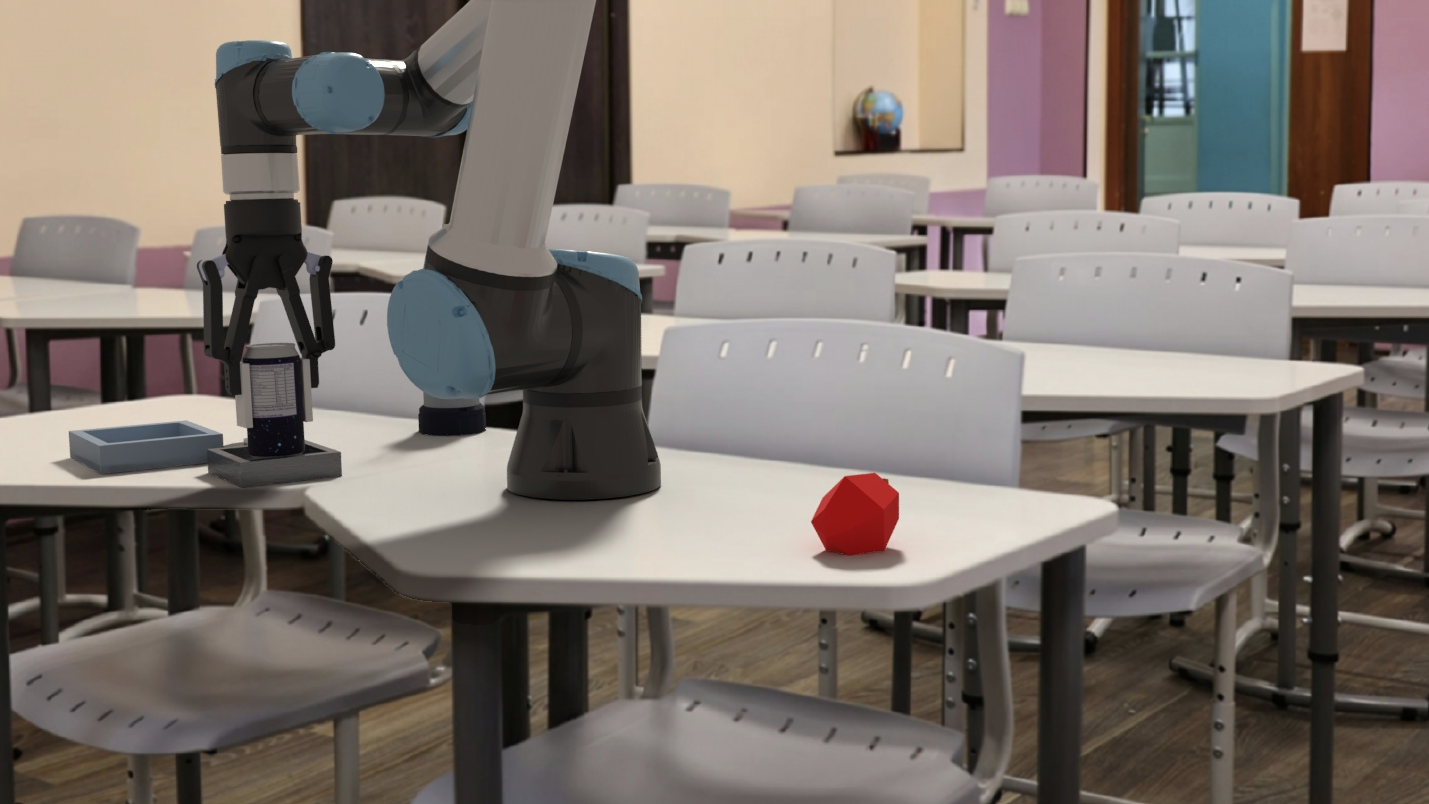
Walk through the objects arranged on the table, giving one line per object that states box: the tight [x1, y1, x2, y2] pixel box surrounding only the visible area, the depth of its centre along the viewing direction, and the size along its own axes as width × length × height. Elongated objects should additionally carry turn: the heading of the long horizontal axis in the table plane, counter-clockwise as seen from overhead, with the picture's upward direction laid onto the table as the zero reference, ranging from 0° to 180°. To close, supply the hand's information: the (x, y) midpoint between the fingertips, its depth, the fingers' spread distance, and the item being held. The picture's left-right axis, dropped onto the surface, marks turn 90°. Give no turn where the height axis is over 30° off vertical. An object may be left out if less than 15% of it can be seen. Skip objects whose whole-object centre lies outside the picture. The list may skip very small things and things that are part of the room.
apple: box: [810, 472, 900, 556], centre depth 131 cm, size 7×7×8 cm
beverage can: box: [242, 342, 306, 459], centre depth 167 cm, size 6×6×12 cm
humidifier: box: [417, 223, 487, 437], centre depth 196 cm, size 8×8×25 cm
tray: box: [68, 420, 224, 475], centre depth 178 cm, size 13×13×3 cm
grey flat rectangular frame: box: [207, 437, 343, 488], centre depth 171 cm, size 17×10×3 cm, turn 35°
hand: (275, 423), depth 167 cm, fingers closed on beverage can, 6 cm apart
